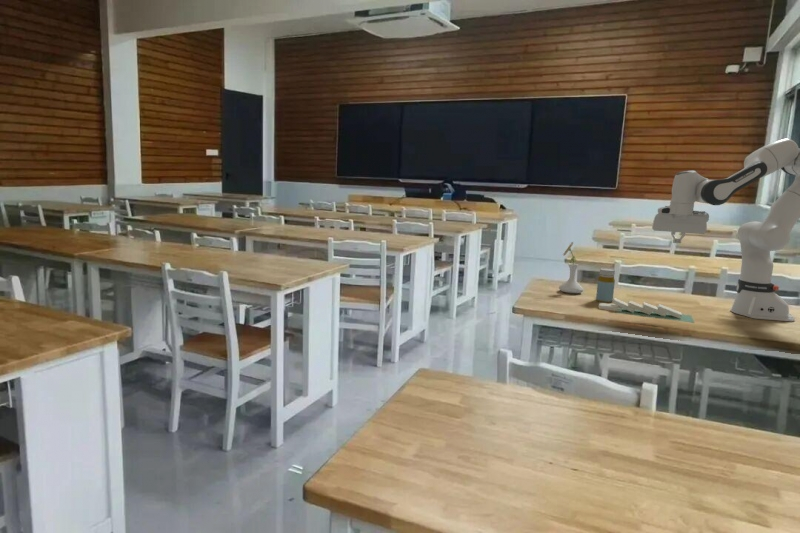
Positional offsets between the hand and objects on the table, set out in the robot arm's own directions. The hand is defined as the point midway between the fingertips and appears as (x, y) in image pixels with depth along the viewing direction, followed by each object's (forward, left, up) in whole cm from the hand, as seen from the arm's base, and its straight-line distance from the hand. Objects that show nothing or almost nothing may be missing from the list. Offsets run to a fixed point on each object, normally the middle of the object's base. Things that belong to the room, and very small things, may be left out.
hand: (676, 243), depth 222 cm
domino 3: (+2, +14, -28) cm, 31 cm away
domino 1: (+14, +14, -28) cm, 34 cm away
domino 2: (+7, +14, -28) cm, 32 cm away
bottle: (+26, 0, -29) cm, 39 cm away
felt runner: (+6, +14, -29) cm, 33 cm away
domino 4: (-4, +14, -28) cm, 31 cm away
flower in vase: (+42, -12, -29) cm, 53 cm away
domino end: (+18, +14, -28) cm, 36 cm away
